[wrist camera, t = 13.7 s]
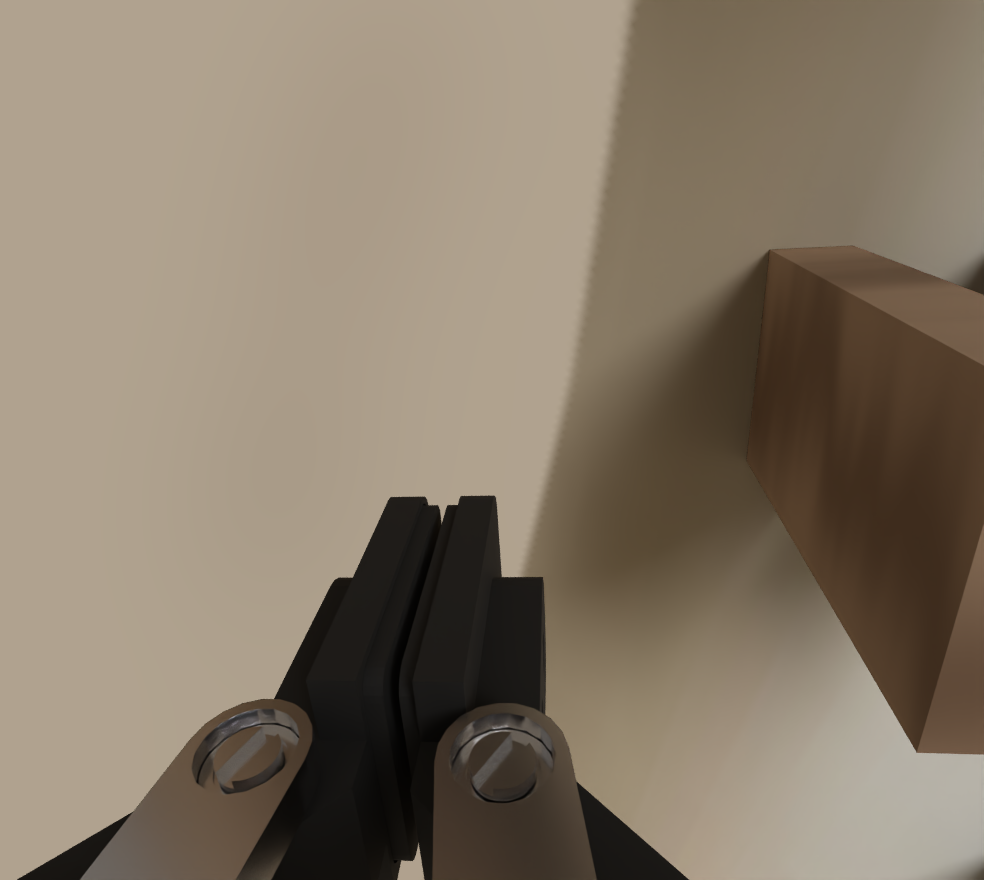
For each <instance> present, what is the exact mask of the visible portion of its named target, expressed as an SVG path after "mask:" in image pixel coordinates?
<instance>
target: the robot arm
mask: <svg viewBox="0 0 984 880" xmlns="http://www.w3.org/2000/svg"><path fill="white" fill-rule="evenodd" d="M545 694H546V642H545V606H544V583H543V577H502V575H501V561H500V545H499V531H498V516H497V504H496V497H495V496H461V497H460V499H459V503H458V505H448V506H447V508H446V512H445V515H444V518H443V522H442V524H441V515H440V509H439V507H438V505H434V506H433V505H432V506H431V505H430V506H429V505H428V502H427V499H426V497H391V498H390V499H389V500H388V502H387V504H386V507H385V509H384V511H383V513H382V515H381V518H380V520H379V522H378V524H377V526H376V528H375V531H374V533H373V535H372V537H371V539H370V542H369V544H368V546H367V548H366V550H365V552H364V555H363V557H362V559H361V561H360V563H359V565H358V568H357V570H356V572H355V574H354V577H353V578H338V579H336V580H334V582H333V583H332V585H331V586H330V588H329V590H328V592H327V594H326V596H325V598H324V600H323V602H322V604H321V606H320V608H319V610H318V612H317V614H316V616H315V618H314V620H313V622H312V624H311V626H310V628H309V630H308V632H307V634H306V636H305V638H304V640H303V642H302V644H301V646H300V648H299V650H298V652H297V654H296V656H295V658H294V660H293V662H292V664H291V666H290V668H289V670H288V672H287V674H286V676H285V678H284V680H283V682H282V684H281V686H280V688H279V690H278V692H277V694H276V696H275V698H274V699H260V700H256V701H251V702H247V703H242V704H240V705H238V706H236V707H233V708H231V709H228V710H226V711H224V712H222V713H221V714H219V715H218V716H216V717H215V718H213V719H212V720H210V721H209V722H207V723H206V724H205V725H204V726H203V727H202V728H201V729H200V730H199V731H198V732H197V733H196V734H195V735H194V736H193V737H192V738H191V739H190V740H189V741H188V743H187V744H186V745H185V746H184V748H183V749H182V750H181V752H180V753H179V754H178V755H177V757H176V758H175V759H174V760H173V762H172V763H171V764H170V766H169V767H168V768H167V769H166V771H165V772H164V773H163V775H162V776H161V777H160V778H159V780H158V781H157V782H156V784H155V785H154V786H153V787H152V788H151V790H150V791H149V792H148V794H147V795H146V796H145V797H144V799H143V800H142V801H141V803H140V804H139V805H138V806H137V808H136V809H135V810H134V811H133V812H132V813H130V814H128V815H127V816H125V817H123V818H122V819H120V820H118V821H116V822H115V823H113V824H112V825H110V826H108V827H106V828H104V829H103V830H101V831H100V832H98V833H96V834H94V835H93V836H91V837H89V838H87V839H86V840H84V841H82V842H81V843H79V844H77V845H75V846H74V847H72V848H70V849H69V850H67V851H65V852H63V853H62V854H60V855H58V856H57V857H55V858H54V859H52V860H50V861H48V862H46V863H45V864H43V865H41V866H40V867H38V868H36V869H35V870H33V871H31V872H30V873H28V874H26V875H24V876H23V877H21V878H19V879H17V880H397V878H398V873H399V868H400V864H401V860H404V861H413V860H414V858H415V855H416V851H417V847H418V842H419V847H420V854H421V859H422V866H423V872H424V879H425V880H689V879H687V878H686V877H685V876H684V875H683V874H682V873H681V872H679V871H678V870H677V869H676V868H675V867H674V866H673V865H671V864H670V863H669V862H668V861H667V860H666V859H665V858H663V857H662V856H661V855H660V854H659V853H658V852H657V851H655V850H654V849H653V848H652V847H651V846H650V845H649V844H647V843H646V842H645V841H644V840H643V839H642V838H641V837H639V836H638V835H637V834H636V833H635V832H634V831H632V830H631V829H630V828H629V827H628V826H627V825H626V824H624V823H623V822H622V821H621V820H620V819H619V818H618V817H616V816H615V815H614V814H613V813H612V812H611V811H610V810H608V809H607V808H606V807H605V806H604V805H603V804H602V803H600V802H599V801H598V800H597V799H596V798H595V797H594V796H592V795H591V794H590V793H589V792H588V791H587V790H586V789H584V788H583V787H582V786H581V785H580V784H579V783H578V782H576V778H575V773H574V769H573V764H572V759H571V754H570V750H569V746H568V744H567V742H566V739H565V737H564V734H563V732H562V731H561V729H560V728H559V727H558V726H557V725H556V724H555V723H554V722H553V720H552V719H551V718H549V717H548V716H546V715H545Z"/></svg>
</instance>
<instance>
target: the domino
mask: <svg viewBox="0 0 984 880" xmlns="http://www.w3.org/2000/svg"><path fill="white" fill-rule="evenodd" d="M747 463H748V464H749V466H750V468H751V470H752V471H753V473H754V475H755V476H756V478H757V480H758V482H759V483H760V485H761V487H762V488H763V490H764V492H765V493H766V495H767V497H768V499H769V500H770V502H771V504H772V505H773V507H774V509H775V511H776V512H777V514H778V516H779V517H780V519H781V521H782V523H783V524H784V526H785V528H786V529H787V531H788V533H789V535H790V536H791V538H792V540H793V541H794V543H795V545H796V547H797V548H798V550H799V552H800V553H801V555H802V557H803V559H804V560H805V562H806V564H807V565H808V567H809V569H810V571H811V572H812V574H813V576H814V577H815V579H816V581H817V582H818V584H819V586H820V588H821V589H822V591H823V593H824V594H825V596H826V598H827V600H828V601H829V603H830V605H831V606H832V608H833V610H834V612H835V613H836V615H837V617H838V618H839V620H840V622H841V624H842V625H843V627H844V629H845V630H846V632H847V634H848V636H849V637H850V639H851V641H852V642H853V644H854V646H855V648H856V649H857V651H858V653H859V654H860V656H861V658H862V660H863V661H864V663H865V665H866V666H867V668H868V670H869V671H870V673H871V675H872V677H873V678H874V680H875V682H876V683H877V685H878V687H879V689H880V690H881V692H882V694H883V695H884V697H885V699H886V701H887V702H888V704H889V706H890V707H891V709H892V711H893V713H894V714H895V716H896V718H897V719H898V721H899V723H900V725H901V726H902V728H903V730H904V731H905V733H906V735H907V737H908V738H909V740H910V742H911V743H912V745H913V747H914V749H915V750H916V752H917V753H949V754H984V295H983V294H980V293H977V292H975V291H972V290H969V289H967V288H964V287H961V286H959V285H956V284H953V283H951V282H948V281H945V280H943V279H940V278H937V277H935V276H932V275H929V274H927V273H924V272H921V271H919V270H916V269H914V268H911V267H908V266H906V265H903V264H900V263H898V262H895V261H892V260H890V259H887V258H884V257H882V256H879V255H876V254H874V253H871V252H868V251H866V250H863V249H860V248H858V247H855V246H835V247H815V248H794V249H774V250H770V253H769V262H768V271H767V280H766V289H765V298H764V307H763V316H762V325H761V334H760V343H759V352H758V361H757V370H756V379H755V388H754V397H753V407H752V416H751V425H750V434H749V443H748V452H747Z"/></svg>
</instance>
